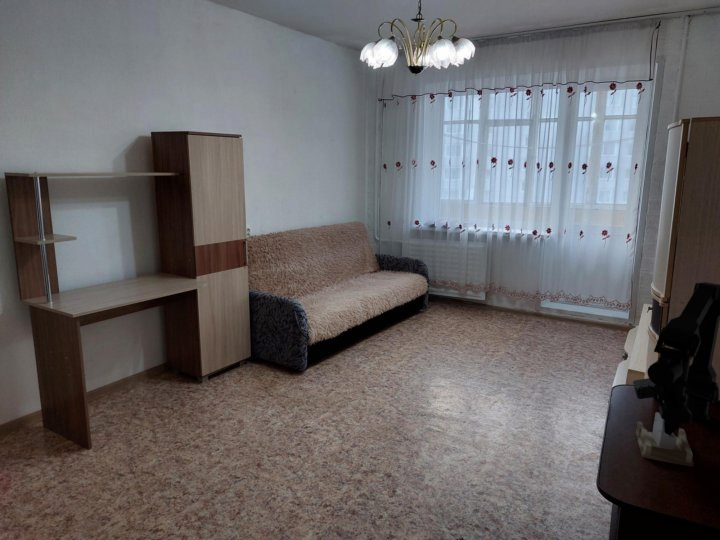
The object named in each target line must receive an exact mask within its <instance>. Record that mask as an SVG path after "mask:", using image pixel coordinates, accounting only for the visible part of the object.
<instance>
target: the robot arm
mask: <svg viewBox="0 0 720 540" xmlns="http://www.w3.org/2000/svg"><path fill="white" fill-rule="evenodd" d="M719 328H720V284H718V283H712V282H706V281H703V282H702V281H701V282H697V283H696V282H695V284H694V288H693V292H692V295H691V296H690V298H689V300H688V301H687V303H686V305H685V306H684V308H683V310H682V311H681V313H680V315H679V316H677V317H674V318H672V319H669V321H668V322H667V324H666V325H665V326H663V327H662V329H661V330H660V334H659V336H658V338H657V341H656V345H655V347H654V350H653V353H656V354H660V356H659V357H658V359H657V360H656V361H655V362H653V363H652V364H650V365H649V367H648V369H647V377H648V378H643V379H635V380H633V381H632V384H633V389H634V391H635V394H636V398H637V399H639V400H646V399H650V398H651V399H652V398H653V399H654V400H655V402H656V403H657V404H658V409H657V411H658V412H659V414H660V416H661V418H662V419H664V429H665V433H666V434H668V435H669V436H670V435H671V434H672V433H673V434H674V432H675V431H676V430H677V429H679V427H680V426H681V425H682V424H688V425H691V424H692V422H693V420H697V421H703V422H712V419H711V417H710V416H709V413H708V412H709V407H710V404H713V403H719V400H720V399H719V398H720V389H719V385H718V382H717V378H718V377H717V376H718V375H717V373H716V370H715V369H714V367H713V359H714V353H715V349H716V344H717V338H718V333H719ZM663 345H664V346H663ZM691 360H692V363H691ZM680 402H681V403H684V404H681V403H680Z"/></svg>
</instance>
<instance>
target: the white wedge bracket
mask: <svg viewBox="0 0 720 540" xmlns="http://www.w3.org/2000/svg"><path fill="white" fill-rule="evenodd" d="M651 432H652V437H653V439H654V440H655V442H656V444H657V445H658V447H664V448H669V449H675V446H676V440H677V438H676V437H677V436H676V435H675V434H674V432H673V433H672V434H671V435H670V436H669V435H668V434H666V433H665V429H664V419H662V418H661V416H660V414H659V411H658V412H655V414H654V421H653V426H652V431H651ZM675 436H676V437H675Z"/></svg>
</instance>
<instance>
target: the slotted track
mask: <svg viewBox="0 0 720 540" xmlns="http://www.w3.org/2000/svg"><path fill="white" fill-rule="evenodd" d="M652 432H653V431H648V430H647V429H646V428H645V427H644V425H643V422H642V421H637V425H636V429H635V434H636V438H637V439H638V440H637V443H638V448H639V450H640V453H641V457H642V458H644V459H650V460H655V461H660V462H665V463H671V464H675V465H682V466H686V467H692V468H693V467H694V464H695V463H694V461H693V451H692V449H691V446H690V444H689V442H688V440H687V438H688V437H687V434H686V431H685V429H683V428H679V427H678V433H677V436H676V435H675V437H676V438H677V440H676V446H675V449H669V448H664V447H658V445H657V444H656V442H655V440H654V439H653V437H652Z"/></svg>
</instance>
